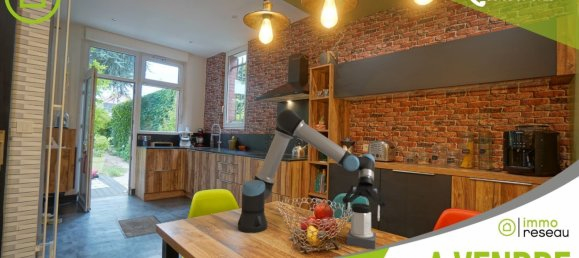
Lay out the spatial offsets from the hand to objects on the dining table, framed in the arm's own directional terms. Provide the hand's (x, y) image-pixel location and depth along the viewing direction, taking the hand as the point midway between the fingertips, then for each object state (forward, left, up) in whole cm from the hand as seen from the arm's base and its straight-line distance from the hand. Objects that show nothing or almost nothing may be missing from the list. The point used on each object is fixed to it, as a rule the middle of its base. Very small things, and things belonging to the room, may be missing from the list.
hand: (362, 217), depth 123 cm
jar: (-1, -1, -6) cm, 7 cm away
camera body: (0, -1, -11) cm, 11 cm away
